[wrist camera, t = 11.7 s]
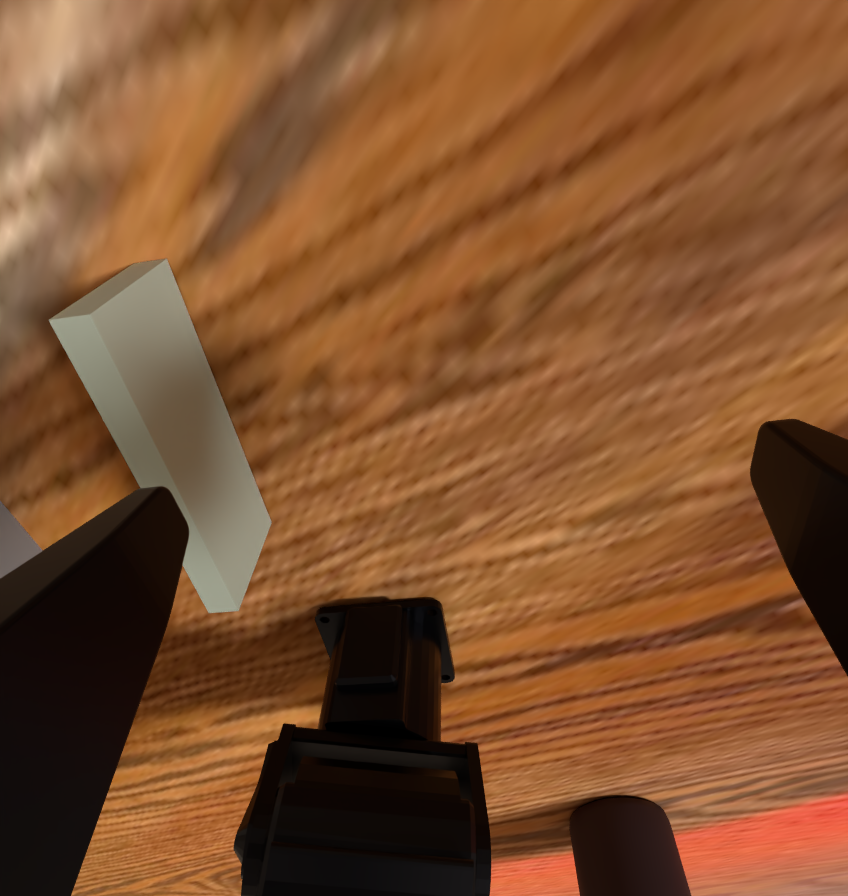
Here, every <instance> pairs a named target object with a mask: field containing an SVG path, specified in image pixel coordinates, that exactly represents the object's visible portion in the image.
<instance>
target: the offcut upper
mask: <svg viewBox="0 0 848 896" xmlns="http://www.w3.org/2000/svg"><path fill="white" fill-rule="evenodd" d="M42 551H43V550H42V549H41V548H40V547H39V546H38V545H37V543H36V542H35V541H34V540H33V539H32V537H31V536H30V535H29V534H28V533H27V532H26V530H25V529H24V528H23V527H22V526H21V525H20V523H19V522H18V521H17V520H16V519H15V518H14V516H13V515H12V514H11V513H10V512H9V510H8V509H7V508H6V507H5V506H4V505H3V503H2V502H1V501H0V578H2V577H3V576H5V575H6V574H8V573H9V572H11V571H13V570H14V569H16V568H17V567H19V566H20V565H22V564H23V563H25V562H26V561H28V560H30V559H31V558H33V557H34V556H36V555H37V554H39V553H40V552H42Z"/></svg>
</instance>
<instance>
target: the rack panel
mask: <svg viewBox="0 0 848 896" xmlns="http://www.w3.org/2000/svg"><path fill="white" fill-rule="evenodd" d="M49 322H50V324H51V326H52V328H53V329H54V331H55V333H56V335H57V337H58V339H59V340H60V342H61V344H62V346H63V348H64V350H65V351H66V353H67V355H68V357H69V359H70V360H71V362H72V364H73V366H74V368H75V370H76V371H77V373H78V375H79V377H80V379H81V381H82V382H83V384H84V386H85V388H86V390H87V391H88V393H89V395H90V397H91V399H92V401H93V402H94V404H95V406H96V408H97V410H98V412H99V413H100V415H101V417H102V419H103V421H104V422H105V424H106V426H107V428H108V430H109V432H110V433H111V435H112V437H113V439H114V441H115V443H116V444H117V446H118V448H119V450H120V452H121V453H122V455H123V457H124V459H125V461H126V463H127V464H128V466H129V468H130V470H131V472H132V474H133V475H134V477H135V479H136V481H137V483H138V485H139V486H140V488H147V487H156V486H163V487H166V488H168V489H169V490H170V491H171V493H172V495H173V497H174V498H175V500H176V502H177V504H178V506H179V508H180V510H181V512H182V514H183V515H184V517H185V519H186V521H187V523H188V527H189V540H188V544H187V548H186V552H185V556H184V561H183V567H184V568H185V570H186V572H187V574H188V576H189V578H190V579H191V581H192V583H193V585H194V587H195V588H196V590H197V592H198V594H199V596H200V598H201V599H202V601H203V603H204V605H205V607H206V609H207V610H208V612H209V613H215V612H229V611H239V608H240V606H241V603H242V600H243V598H244V595H245V592H246V590H247V587H248V584H249V582H250V579H251V576H252V574H253V571H254V568H255V566H256V563H257V560H258V558H259V555H260V552H261V550H262V547H263V544H264V542H265V539H266V536H267V533H268V531H269V528H270V525H271V523H272V522H271V520H270V517H269V515H268V512H267V510H266V507H265V505H264V502H263V500H262V497H261V494H260V492H259V489H258V487H257V484H256V482H255V479H254V477H253V474H252V472H251V469H250V467H249V464H248V462H247V459H246V457H245V454H244V452H243V449H242V447H241V444H240V442H239V439H238V437H237V434H236V432H235V429H234V427H233V424H232V422H231V419H230V417H229V414H228V412H227V409H226V406H225V404H224V401H223V399H222V396H221V394H220V391H219V389H218V386H217V384H216V381H215V379H214V376H213V374H212V371H211V369H210V366H209V364H208V361H207V359H206V356H205V354H204V351H203V349H202V346H201V344H200V341H199V339H198V336H197V334H196V331H195V329H194V326H193V323H192V321H191V318H190V316H189V313H188V311H187V308H186V306H185V303H184V301H183V298H182V296H181V293H180V291H179V288H178V286H177V283H176V281H175V278H174V276H173V273H172V271H171V268H170V266H169V263H168V261H167V259H161V260H154V261H147V262H140V263H133V264H132V265H130V266H129V267H127V268H126V269H124V270H123V271H121V272H120V273H118V274H117V275H115V276H114V277H112V278H111V279H109V280H108V281H106V282H105V283H103V284H102V285H100V286H99V287H97V288H96V289H94V290H93V291H91V292H90V293H88V294H87V295H85V296H84V297H82V298H81V299H79V300H78V301H76V302H75V303H73V304H72V305H70V306H69V307H67V308H66V309H64V310H63V311H61V312H60V313H58V314H57V315H55V316H54V317H52V318H51V319H49Z"/></svg>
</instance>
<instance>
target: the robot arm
mask: <svg viewBox="0 0 848 896" xmlns="http://www.w3.org/2000/svg"><path fill="white" fill-rule="evenodd" d="M750 476H751V482H752V485H753V487H754V490H755V492H756V495H757V497H758V500H759V502H760V504H761V507H762V509H763V512H764V514H765V516H766V519H767V521H768V524H769V526H770V528H771V531H772V533H773V536H774V538H775V540H776V543H777V545H778V548H779V550H780V552H781V555H782V557H783V559H784V562H785V564H786V566H787V568H788V570H789V573H790V575H791V577H792V578H793V580H794V582H795V584H796V586H797V588H798V590H799V591H800V593H801V595H802V597H803V598H804V600H805V602H806V604H807V606H808V607H809V609H810V611H811V613H812V614H813V616H814V618H815V620H816V621H817V623H818V625H819V627H820V628H821V630H822V632H823V634H824V636H825V637H826V639H827V641H828V643H829V644H830V646H831V648H832V650H833V651H834V653H835V655H836V657H837V658H838V660H839V662H840V664H841V666H842V667H843V669H844V671H845V673H846V674H847V676H848V440H847V439H845V438H842V437H840V436H837V435H835V434H832V433H830V432H827V431H825V430H822V429H820V428H817V427H815V426H812V425H810V424H807V423H805V422H802V421H800V420H797V419H785V420H776V421H768V422H765V423H764V424H762V425H761V427H760V429H759V431H758V435H757V440H756V444H755V449H754V453H753V458H752V463H751V468H750ZM188 540H189V527H188V523H187V521H186V519H185V517H184V515H183V514H182V512H181V510H180V508H179V506H178V504H177V502H176V500H175V498H174V497H173V495H172V493H171V491H170V490H169V489H168V488H166V487H163V486H156V487H147V488H140V489H138V490H136V491H134V492H133V493H131V494H130V495H128V496H126V497H125V498H123V499H122V500H120V501H119V502H117V503H116V504H114V505H113V506H111V507H110V508H108V509H106V510H105V511H103V512H102V513H100V514H99V515H97V516H96V517H94V518H93V519H91V520H90V521H88V522H86V523H85V524H83V525H82V526H80V527H79V528H77V529H76V530H74V531H73V532H71V533H70V534H68V535H66V536H65V537H63V538H62V539H60V540H59V541H57V542H56V543H54V544H53V545H51V546H50V547H48V548H46V549H45V550H43V551H42V552H40V553H39V554H37V555H36V556H34V557H33V558H31V559H30V560H28V561H26V562H25V563H23V564H22V565H20V566H19V567H17V568H16V569H14V570H13V571H11V572H9V573H8V574H6V575H5V576H3V577H2V578H0V896H71V894H72V891H73V888H74V886H75V883H76V880H77V877H78V874H79V872H80V869H81V866H82V863H83V860H84V858H85V855H86V852H87V849H88V846H89V844H90V841H91V838H92V835H93V832H94V830H95V827H96V824H97V821H98V818H99V816H100V813H101V810H102V807H103V804H104V802H105V799H106V796H107V793H108V790H109V788H110V785H111V782H112V779H113V776H114V774H115V771H116V768H117V765H118V762H119V760H120V757H121V754H122V751H123V748H124V746H125V743H126V740H127V737H128V734H129V732H130V729H131V726H132V723H133V720H134V718H135V715H136V712H137V709H138V706H139V704H140V701H141V698H142V695H143V692H144V690H145V687H146V684H147V681H148V678H149V676H150V673H151V670H152V667H153V664H154V662H155V659H156V656H157V653H158V650H159V648H160V645H161V642H162V639H163V636H164V633H165V630H166V627H167V624H168V621H169V617H170V614H171V610H172V607H173V602H174V598H175V594H176V590H177V586H178V582H179V577H180V573H181V569H182V565H183V561H184V556H185V552H186V548H187V544H188ZM315 621H316V624H317V626H318V629H319V632H320V634H321V637H322V639H323V642H324V644H325V647H326V649H327V652H328V655H329V657H330V660H331V661H330V667H329V672H328V677H327V682H326V688H325V693H324V698H323V703H322V708H321V714H320V719H319V724H318V729H311V728H302V727H296V725H294V724H283V727H282V730H281V733H280V736H279V739H278V740H277V741H274V742H272V743H270V744H268V748H267V752H266V756H265V760H264V764H263V767H262V771H261V775H260V778H259V781H258V784H257V787H256V789H255V792H254V794H253V796H252V799H251V801H250V803H249V806H248V808H247V810H246V813H245V815H244V817H243V820H242V822H241V824H240V827H239V829H238V831H237V834H236V838H235V842H234V851H235V853H236V855H237V857H238V858H239V860H240V862H241V864H242V867H241V879H243V880H242V890H241V896H489V895H490V882H491V842H490V830H489V822H488V815H487V807H486V800H485V793H484V786H483V779H482V772H481V765H480V758H479V750H478V744H477V743H471V742H465V744H459V743H450V742H441V683H448V682H452V681H453V680H454V678H455V672H454V665H453V660H452V655H451V650H450V644H449V639H448V634H447V629H446V623H445V618H444V613H443V608H442V604H441V603H440V602H439V601H437V600H417V601H403V602H389V603H375V604H361V605H347V606H333V607H322V608H319V609H318V610H317V612H316V616H315Z"/></svg>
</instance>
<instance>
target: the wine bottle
mask: <svg viewBox="0 0 848 896" xmlns="http://www.w3.org/2000/svg"><path fill="white" fill-rule="evenodd" d="M570 835H571V841H572V848H573V854H574V860H575V867H576V873H577V879H578V885H579V892H580V896H691V893H690V890H689V886H688V883H687V879H686V876H685V873H684V869H683V866H682V862H681V859H680V855H679V852H678V849H677V845H676V842H675V838H674V835H673V831H672V828H671V825H670V822H669V820H668V818H667V816H666V814H665V812H664V810H663V809H662V808H661V807H660V806H658V805H656V804H655V803H652V802H649V801H646V800H642V799H636V798H625V797H618V798H608V799H602V800H598V801H594V802H592V803H589V804H586V805H584V806H582V807H580V808H579V809H577V810H576V811H575V812H574V813H573V814H572V816H571V818H570Z"/></svg>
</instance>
